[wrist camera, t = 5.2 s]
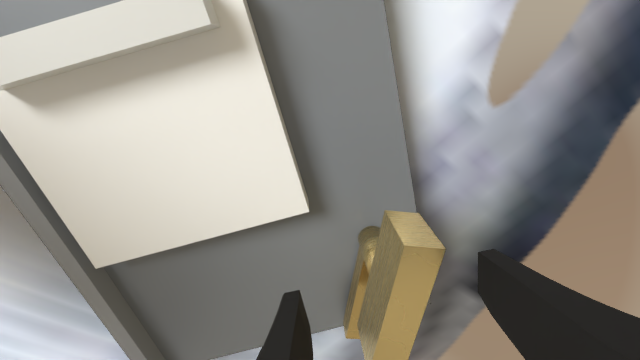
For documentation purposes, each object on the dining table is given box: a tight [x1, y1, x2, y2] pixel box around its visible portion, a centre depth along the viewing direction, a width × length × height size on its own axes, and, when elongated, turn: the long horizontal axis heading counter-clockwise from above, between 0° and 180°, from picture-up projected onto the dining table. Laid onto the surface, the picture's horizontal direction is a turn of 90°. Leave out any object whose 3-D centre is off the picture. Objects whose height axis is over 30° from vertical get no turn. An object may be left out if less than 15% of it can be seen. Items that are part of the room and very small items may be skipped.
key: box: [343, 210, 446, 360], centre depth 14 cm, size 8×1×5 cm, turn 172°
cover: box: [0, 0, 309, 269], centre depth 12 cm, size 10×9×2 cm
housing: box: [0, 0, 431, 360], centre depth 15 cm, size 17×21×3 cm
